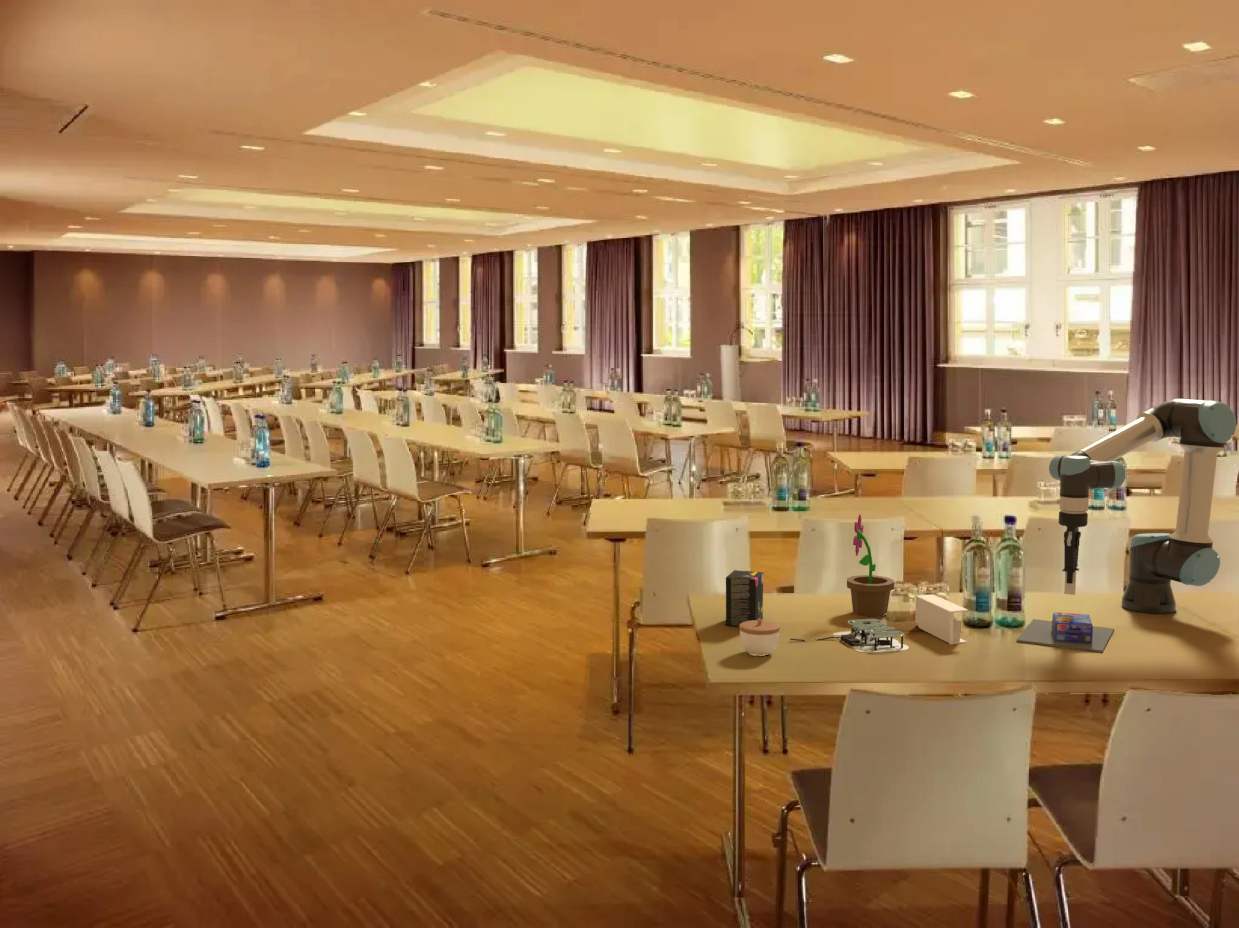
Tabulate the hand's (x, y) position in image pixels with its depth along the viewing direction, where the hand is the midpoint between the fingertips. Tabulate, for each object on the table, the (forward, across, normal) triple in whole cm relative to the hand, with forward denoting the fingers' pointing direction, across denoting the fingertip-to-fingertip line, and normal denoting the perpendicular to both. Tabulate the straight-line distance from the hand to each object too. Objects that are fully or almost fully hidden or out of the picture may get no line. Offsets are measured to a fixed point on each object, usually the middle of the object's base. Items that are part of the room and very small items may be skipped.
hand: (1069, 593), depth 323 cm
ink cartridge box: (+8, -1, 0) cm, 8 cm away
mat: (+11, +4, 0) cm, 12 cm away
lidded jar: (+12, +60, -69) cm, 92 cm away
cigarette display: (+12, +18, -32) cm, 38 cm away
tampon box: (+12, +33, -85) cm, 92 cm away
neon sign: (+12, +39, -52) cm, 66 cm away
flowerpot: (+12, +5, -56) cm, 57 cm away
